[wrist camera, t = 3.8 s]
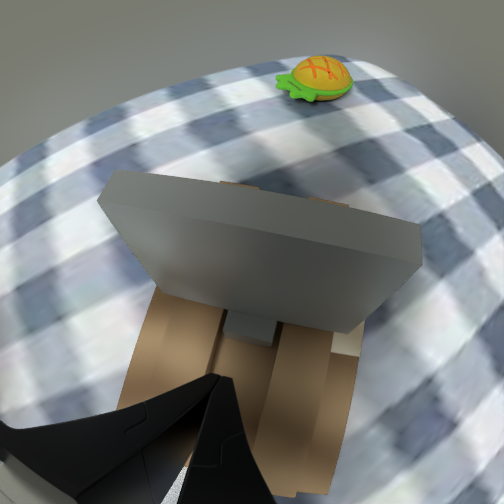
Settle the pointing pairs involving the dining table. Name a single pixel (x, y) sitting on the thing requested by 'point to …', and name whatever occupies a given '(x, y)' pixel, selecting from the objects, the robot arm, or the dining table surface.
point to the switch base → (257, 383)
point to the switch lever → (261, 252)
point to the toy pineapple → (316, 79)
